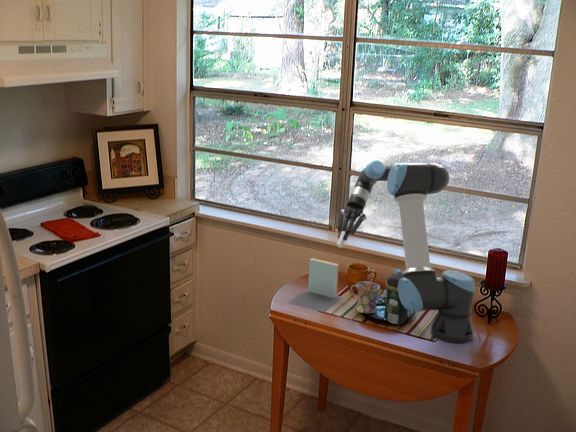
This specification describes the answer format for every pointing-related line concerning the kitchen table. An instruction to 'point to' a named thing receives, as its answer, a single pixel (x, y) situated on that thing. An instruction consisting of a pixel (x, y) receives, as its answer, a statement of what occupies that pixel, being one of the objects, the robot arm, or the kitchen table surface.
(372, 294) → the mug
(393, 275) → the coffee jar
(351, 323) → the kitchen table surface
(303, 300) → the mat
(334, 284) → the tile
